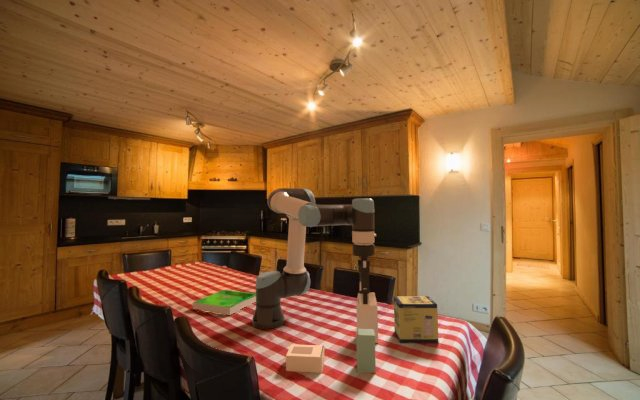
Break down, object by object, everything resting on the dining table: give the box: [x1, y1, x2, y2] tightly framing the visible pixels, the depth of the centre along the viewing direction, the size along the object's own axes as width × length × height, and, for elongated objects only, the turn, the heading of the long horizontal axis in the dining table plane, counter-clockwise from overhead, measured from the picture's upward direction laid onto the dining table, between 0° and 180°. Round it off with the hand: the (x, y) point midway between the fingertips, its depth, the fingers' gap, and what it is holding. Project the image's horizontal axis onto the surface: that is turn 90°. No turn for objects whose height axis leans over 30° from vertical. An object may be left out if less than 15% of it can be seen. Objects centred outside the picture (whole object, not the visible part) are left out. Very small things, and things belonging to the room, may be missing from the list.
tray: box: [192, 289, 256, 315], centre depth 160 cm, size 25×25×5 cm
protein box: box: [393, 295, 439, 344], centre depth 117 cm, size 10×16×16 cm
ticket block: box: [285, 343, 325, 374], centre depth 97 cm, size 12×8×5 cm, turn 83°
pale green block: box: [355, 327, 377, 374], centre depth 95 cm, size 6×5×12 cm
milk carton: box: [355, 292, 379, 344], centre depth 115 cm, size 7×7×19 cm
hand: (364, 306), depth 95 cm, fingers open, 13 cm apart
